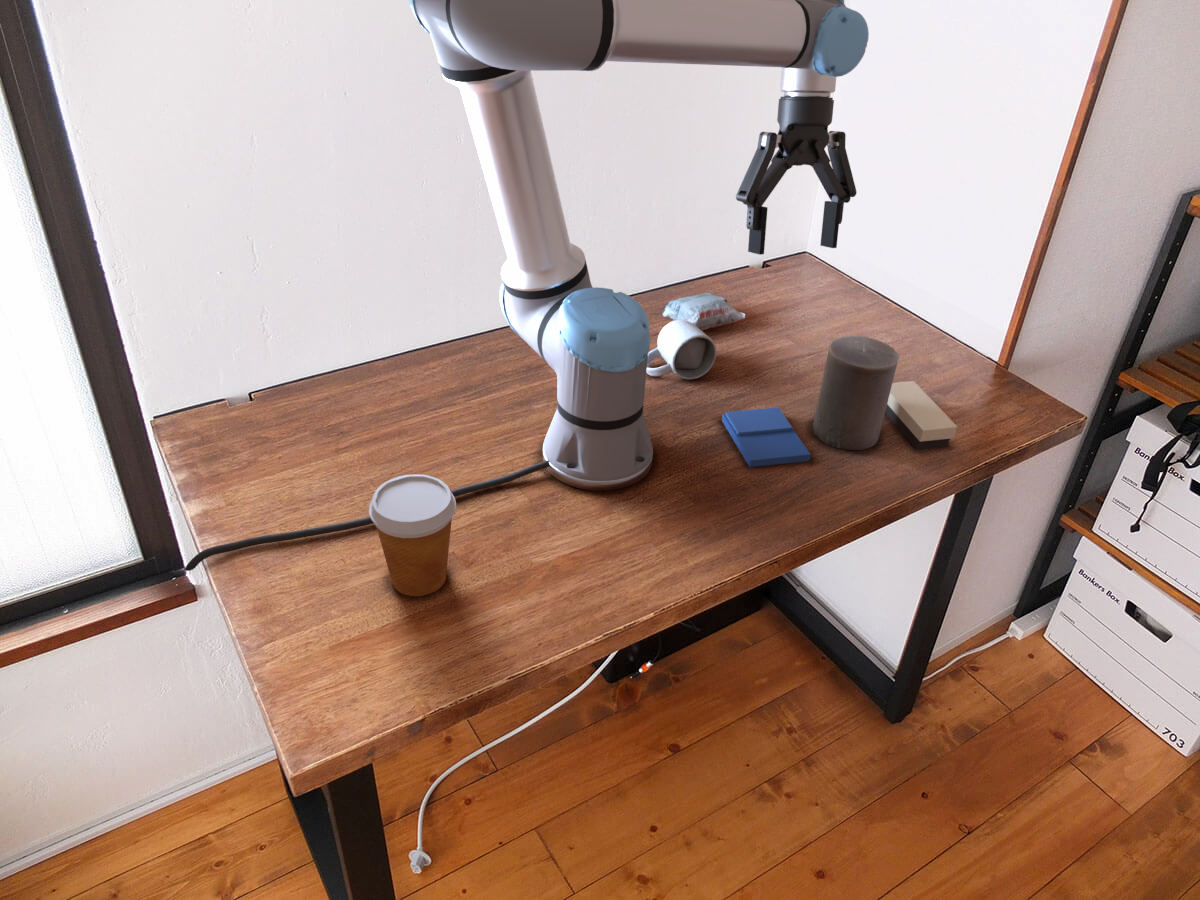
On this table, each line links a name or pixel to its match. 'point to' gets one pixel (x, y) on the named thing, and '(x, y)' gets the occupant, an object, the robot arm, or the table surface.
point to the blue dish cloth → (765, 437)
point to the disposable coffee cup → (414, 531)
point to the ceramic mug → (683, 351)
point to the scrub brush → (919, 416)
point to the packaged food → (703, 311)
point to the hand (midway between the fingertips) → (792, 250)
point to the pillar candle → (854, 392)
